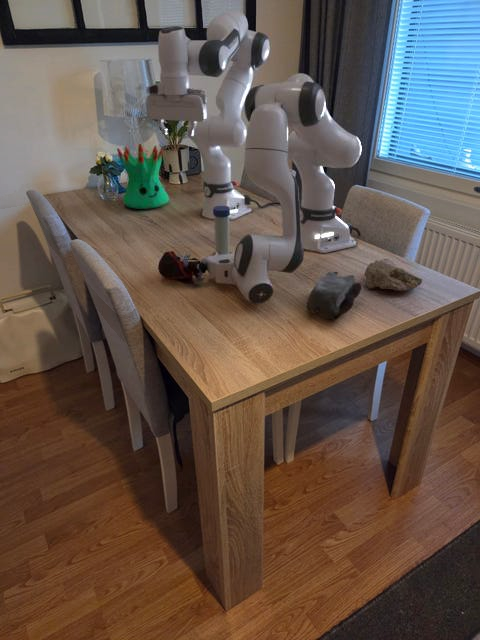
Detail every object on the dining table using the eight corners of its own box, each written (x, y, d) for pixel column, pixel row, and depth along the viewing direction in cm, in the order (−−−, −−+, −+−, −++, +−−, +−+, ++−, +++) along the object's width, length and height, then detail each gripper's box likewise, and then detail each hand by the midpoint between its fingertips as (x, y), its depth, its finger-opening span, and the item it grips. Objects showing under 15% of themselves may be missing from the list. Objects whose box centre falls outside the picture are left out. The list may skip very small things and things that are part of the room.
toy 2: (200, 245, 129) (156, 241, 134) (191, 274, 126) (147, 269, 132) (215, 264, 140) (174, 259, 145) (207, 291, 137) (165, 286, 142)
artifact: (382, 302, 128) (424, 295, 132) (389, 280, 123) (432, 273, 128) (348, 271, 141) (387, 266, 146) (354, 250, 137) (393, 246, 142)
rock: (342, 329, 114) (346, 302, 110) (301, 318, 119) (303, 292, 115) (361, 299, 128) (365, 274, 124) (324, 290, 132) (326, 266, 128)
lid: (225, 210, 151) (225, 204, 150) (233, 215, 147) (232, 209, 146) (210, 213, 149) (210, 207, 148) (217, 218, 145) (217, 211, 144)
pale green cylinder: (225, 250, 158) (225, 206, 150) (231, 255, 155) (231, 210, 146) (213, 252, 157) (211, 208, 148) (219, 257, 153) (218, 212, 144)
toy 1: (131, 213, 192) (124, 153, 179) (118, 201, 207) (109, 145, 194) (175, 206, 201) (171, 148, 187) (159, 195, 215) (154, 140, 202)
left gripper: (209, 88, 139) (210, 135, 146) (151, 86, 144) (154, 132, 152) (202, 89, 134) (203, 138, 141) (141, 87, 139) (146, 134, 146)
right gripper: (277, 256, 133) (262, 239, 144) (210, 264, 128) (200, 246, 139) (276, 275, 136) (261, 257, 147) (211, 283, 131) (201, 264, 142)
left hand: (177, 135), depth 146 cm, fingers open, 8 cm apart
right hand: (231, 252), depth 143 cm, fingers open, 8 cm apart
